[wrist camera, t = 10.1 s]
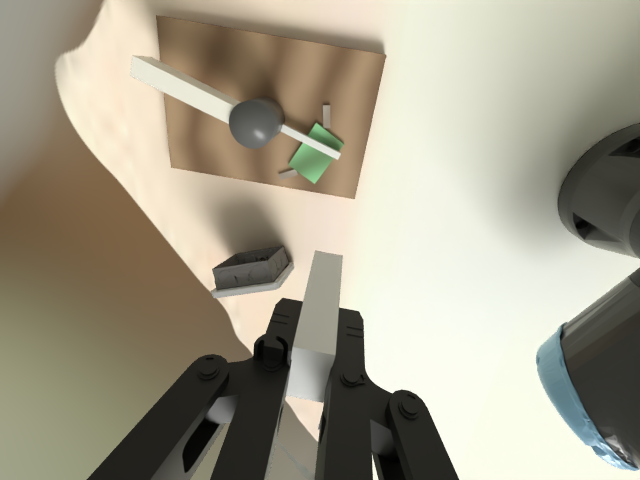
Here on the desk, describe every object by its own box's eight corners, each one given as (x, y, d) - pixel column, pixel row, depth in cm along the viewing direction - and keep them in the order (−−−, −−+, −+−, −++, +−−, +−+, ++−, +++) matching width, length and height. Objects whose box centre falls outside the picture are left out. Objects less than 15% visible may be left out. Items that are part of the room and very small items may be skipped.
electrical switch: (239, 274, 48) (215, 309, 39) (229, 245, 46) (201, 275, 37) (296, 265, 46) (283, 300, 38) (287, 234, 44) (271, 264, 36)
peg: (348, 137, 35) (348, 148, 30) (331, 171, 37) (328, 187, 32) (167, 45, 32) (132, 39, 27) (160, 87, 34) (126, 89, 29)
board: (385, 55, 32) (386, 54, 30) (354, 195, 40) (354, 200, 38) (162, 17, 32) (153, 14, 30) (175, 165, 40) (169, 168, 38)
